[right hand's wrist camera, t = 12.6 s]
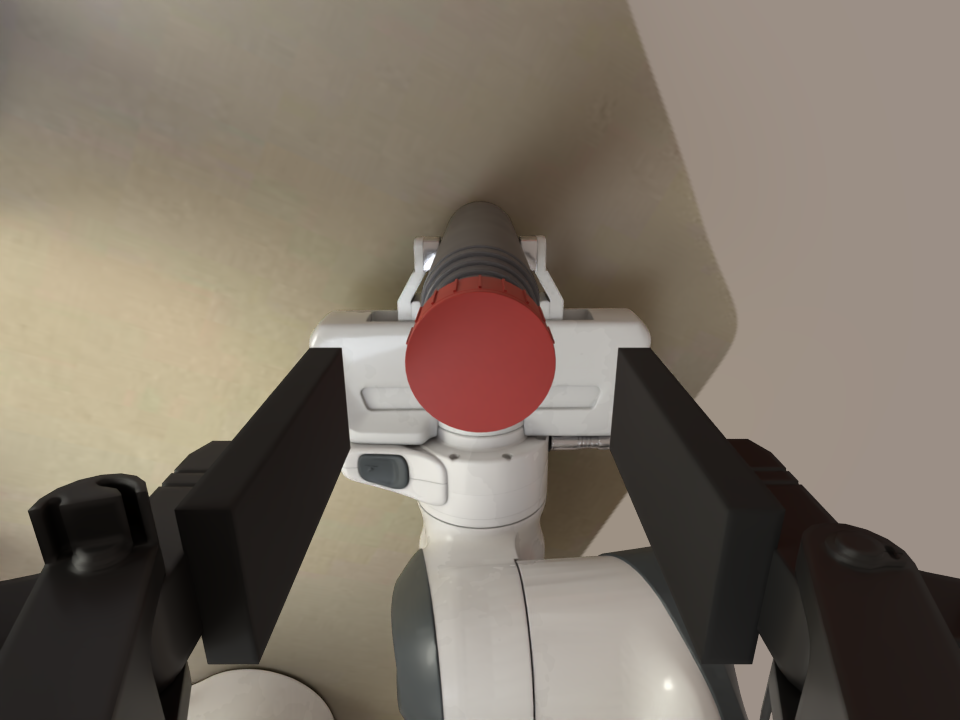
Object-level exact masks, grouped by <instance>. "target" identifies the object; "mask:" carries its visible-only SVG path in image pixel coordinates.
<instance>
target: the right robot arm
mask: <svg viewBox="0 0 960 720" xmlns="http://www.w3.org/2000/svg"><path fill="white" fill-rule="evenodd" d="M350 449H351V446H350V435H349V423H348V412H347V401H346V390H345V378H344V367H343V356H342V348H309V350H308V351H307V352H306V353H305V354H304V355H303V357H302V358H301V359H300V360H299V361H298V363H297V364H296V365H295V366H294V367H293V369H292V370H291V371H290V372H289V373H288V375H287V376H286V377H285V378H284V379H283V381H282V382H281V383H280V384H279V385H278V386H277V388H276V389H275V390H274V391H273V392H272V394H271V395H270V396H269V397H268V398H267V400H266V401H265V402H264V403H263V404H262V406H261V407H260V408H259V409H258V410H257V412H256V413H255V414H254V415H253V416H252V417H251V419H250V420H249V421H248V422H247V423H246V425H245V426H244V427H243V428H242V429H241V431H240V432H239V433H238V434H237V435H236V437H235V438H234V439H233V440H232V441H212V442H210V443H208V444H206V445H205V446H203V447H201V448H200V449H198V450H196V451H194V452H193V453H191V454H189V455H188V456H187V457H186V458H185V459H184V461H183V462H182V463H181V464H180V465H179V466H178V467H177V468H176V469H175V470H174V471H175V472H174V473H171V474H170V475H169V476H168V478H167V479H166V480H165V481H164V482H163V483H162V487H158V488H157V489H156V490H155V491H154V492H153V494H152V495H151V496H150V497H149V495H148V491H147V487H146V483H145V481H143V480H142V479H140V478H139V477H137V476H134V475H128V474H107V475H99V476H94V477H90V478H86V479H81V480H78V481H75V482H73V483H70V484H68V485H65V486H63V487H60V488H57V489H56V490H54V491H52V492H51V493H49V494H47V495H46V496H44V497H42V498H41V499H39V500H38V501H37V502H36V503H35V504H34V505H33V506H32V507H31V508H30V509H29V510H28V513H29V516H30V519H31V522H32V525H33V528H34V531H35V534H36V538H37V541H38V544H39V547H40V550H41V553H42V556H43V559H44V562H45V566H44V568H43V570H42V571H41V573H39V574H35V575H30V576H25V577H20V578H15V579H10V580H5V581H0V720H187V717H188V709H189V702H190V694H191V687H192V684H191V676H190V671H189V666H188V662H187V660H188V658H189V656H190V654H191V653H192V651H193V649H194V647H195V646H196V644H197V642H198V640H199V639H200V637H201V635H202V640H203V644H204V649H205V654H206V658H207V663H208V664H259V662H260V660H261V657H262V655H263V653H264V650H265V648H266V646H267V643H268V641H269V638H270V636H271V634H272V631H273V629H274V627H275V624H276V622H277V620H278V617H279V615H280V613H281V610H282V608H283V606H284V603H285V601H286V599H287V596H288V594H289V592H290V589H291V587H292V585H293V582H294V580H295V578H296V575H297V573H298V570H299V568H300V566H301V563H302V561H303V559H304V556H305V554H306V552H307V549H308V547H309V545H310V542H311V540H312V538H313V535H314V533H315V531H316V528H317V526H318V524H319V521H320V519H321V517H322V514H323V512H324V510H325V507H326V505H327V503H328V500H329V498H330V495H331V493H332V491H333V488H334V486H335V484H336V481H337V479H338V477H339V474H340V472H341V470H342V467H343V465H344V463H345V460H346V458H347V456H348V453H349V451H350ZM609 449H610V451H611V453H612V456H613V458H614V460H615V463H616V465H617V467H618V470H619V472H620V474H621V477H622V479H623V481H624V484H625V486H626V488H627V491H628V493H629V495H630V498H631V500H632V503H633V505H634V507H635V510H636V512H637V514H638V517H639V519H640V521H641V524H642V526H643V528H644V531H645V533H646V535H647V538H648V540H649V542H650V545H651V547H652V549H653V552H654V554H655V556H656V559H657V561H658V563H659V566H660V568H661V570H662V573H663V575H664V578H665V580H666V582H667V585H668V587H669V589H670V592H671V594H672V596H673V599H674V601H675V603H676V606H677V608H678V610H679V613H680V615H681V617H682V620H683V622H684V624H685V627H686V629H687V631H688V634H689V636H690V638H691V641H692V643H693V646H694V648H695V650H696V653H697V655H698V657H699V660H700V662H701V664H752V663H753V658H754V654H755V649H756V644H757V640H758V635H759V634H760V636H761V637H762V639H763V641H764V643H765V644H766V646H767V648H768V649H769V651H770V653H771V655H772V657H773V662H772V666H771V671H770V675H769V679H768V684H767V688H766V692H765V696H764V701H763V705H762V709H761V715H760V720H769V718H770V714H771V712H772V715H773V720H960V579H959V578H953V577H949V576H944V575H939V574H933V573H929V572H924V571H920V570H918V568H917V566H916V565H915V563H914V562H913V561H912V559H911V558H910V557H909V556H908V555H907V553H906V552H905V551H904V550H902V549H901V548H900V547H898V546H897V545H895V544H894V543H892V542H891V541H890V540H888V539H886V538H884V537H882V536H880V535H878V534H875V533H873V532H871V531H869V530H866V529H863V528H859V527H855V526H851V525H848V524H840V523H838V522H837V521H836V520H835V519H834V518H833V517H832V516H831V515H830V514H829V513H828V512H827V511H826V510H825V509H824V508H823V507H822V506H821V505H820V504H819V502H818V501H817V500H816V499H815V498H814V497H813V496H812V495H811V494H810V493H809V492H808V491H807V490H806V489H805V488H804V487H803V486H802V485H799V484H798V480H797V479H796V478H795V477H794V476H793V475H792V474H791V473H790V472H789V471H786V468H785V467H784V466H783V464H782V463H781V462H780V461H779V460H778V459H777V458H776V457H775V456H774V455H773V454H772V453H771V452H770V451H768V450H766V449H764V448H763V447H761V446H759V445H757V444H756V443H754V442H752V441H750V440H749V439H726V438H725V437H724V435H723V434H722V433H721V432H720V431H719V429H718V428H717V427H716V426H715V425H714V423H713V422H712V421H711V420H710V419H709V417H708V416H707V415H706V414H705V413H704V412H703V410H702V409H701V408H700V407H699V406H698V404H697V403H696V402H695V401H694V400H693V398H692V397H691V396H690V395H689V394H688V392H687V391H686V390H685V389H684V388H683V386H682V385H681V384H680V383H679V382H678V381H677V379H676V378H675V377H674V376H673V375H672V373H671V372H670V371H669V370H668V369H667V367H666V366H665V365H664V364H663V363H662V361H661V360H660V359H659V358H658V357H657V355H656V354H655V353H654V352H653V351H652V350H651V348H618V356H617V367H616V378H615V389H614V401H613V412H612V423H611V435H610V446H609Z"/></svg>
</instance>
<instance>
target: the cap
mask: <svg viewBox="0 0 960 720" xmlns="http://www.w3.org/2000/svg"><path fill="white" fill-rule="evenodd" d="M553 344H555V341H554V339H553V336H552V333H551V331H550V328H549V326H548V327H547V325H546V320H545V317H544V314H543V312H542V309H541V307H540V306H537V305H536V303H535V302H534V301H533V299H532V298H531V297H530V296H529V295H528V294H527V293H526V290H524V289H523V290H521V289H520V288H519V287H517V286H515V285H513V284H511V283H509V282H507V281H505V279H503V278H502V280H501V279H497V278H493V277H481V275H479V277H469V278H464V279H460V280H458V279H455V281H454V282H452V283H450V284H447V285H446V286H444V287H442V288H441V289H439V290H438V291H437V290H435V291H434V294H433V295H432V296H431V297H430V298H429V299H428V300H427V302H426V303H425V304H424V306H423V307H420V308H419V311H418V314H417V316H416V319H415V324H414V327H412V328H411V330H410V333H409V336H408V338H407V341H406V345H407V348H406V354H405V371H406V376H407V380H408V383H409V386H410V389H411V391H412V392H413V394H414V396H415V398H416V399H417V401H418V402H419V404H420V405H421V406H422V407H423V408H424V409H425V410H426V411H427V412H428V413H429V414H430V415H431V416H433V417H434V418H435V419H437V420H438V421H440V422H442V423H444V424H446V425H448V426H450V427H453V428H455V429H458V430H463V431H467V432H476V433H482V432H493V431H498V430H502V429H506V428H508V427H511V426H513V425H515V424H517V423H519V422H521V421H523V420H524V419H525V418H527V417H528V416H530V415H531V414H532V413H533V412H534V411H535V410H536V409H537V408H538V407H539V406H540V405H541V403H542V402H543V401H544V399H545V398H546V396H547V394H548V392H549V390H550V388H551V386H552V383H553V379H554V375H555V369H556V355H555V348H554V345H553Z"/></svg>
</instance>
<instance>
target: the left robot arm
mask: <svg viewBox="0 0 960 720" xmlns="http://www.w3.org/2000/svg"><path fill="white" fill-rule="evenodd" d="M519 242H520V244H521V247H522V249H523V252H524V254H525V257H526V259H527V261H528V264H529V266H530V269H531V271H534V272H535V274H536V275H537V277H538V279H539V281H540V283H541V284H542V286H543V288H544V290H545V292H546V293H545V292H539V296H540V307H541V309H542V312H543V314H544V317H545V320H546V325H547V327H548V326H549V328H550V331H551V333H552V336H553V339H554V341H555V344H553V345H554V348H555V355H556V369H555V375H554V379H553V383H552V386H551V388H550V390H549V392H548V394H547V396H546V398H545V399H544V401H543V402H542V403H541V405H540V406H539V407H538V408H537V409H536V410H535V411H534V412H533V413H532V414H531V415H530V416H528V417H527V418H525V419H524V420H523V421H521V422H519V423H517V424H515V425H513V426H511V427H508V428H506V429H502V430H498V431H493V432H482V433H476V432H467V431H463V430H458V429H455V428H453V427H450V426H448V425H446V424H444V423H442V422H440V421H438V420H437V419H435V418H434V417H433V416H431V415H430V414H429V413H428V412H427V411H426V410H425V409H424V408H423V407H422V406H421V405H420V404H419V402H418V401H417V399H416V398H415V396H414V394H413V392H412V391H411V389H410V386H409V383H408V380H407V376H406V371H405V354H406V348H407V345H406V341H407V338H408V336H409V333H410V330H411V328H412V327H414V324H415V319H416V316H417V314H418V311H419V308H420V307H421V293H416V294H415V292H416V290H417V288H418V286H419V285H420V283H421V281H422V279H423V277H424V275H425V273H426V272H429V270H430V267H431V265H432V262H433V260H434V257H435V255H436V252H437V250H438V247H439V245H440V243H441V237H424V236H421V237H415V239H414V264H415V269H414V270H413V272H412V274H411V276H410V278H409V280H408V282H407V284H406V286H405V288H404V290H403V291H402V293H401V295H400V297H399V299H398V301H397V305H398V310H334V311H331V312H329V313H328V314H327V315H326V316H325V317H324V318H323V319H322V320H321V321H320V322H319V323H318V324H317V326H316V327H315V328H314V330H313V331H312V333H311V336H310V340H309V348H342V356H343V367H344V378H345V390H346V401H347V412H348V423H349V435H350V446H351V449H350V451H349V453H348V456H347V458H346V460H345V463H344V465H343V467H342V470H341V471H342V473H343V475H344V476H345V477H347V478H348V479H350V480H353V481H356V482H360V483H364V484H367V485H371V486H375V487H379V488H382V489H386V490H389V491H393V492H396V493H399V494H402V495H405V496H408V497H411V498H413V499H416V500H417V502H418V505H419V508H420V511H421V513H422V516H423V521H424V524H423V529H422V532H421V536H420V542H419V550H418V551H417V552H416V553H415V554H414V556H413V557H412V558H411V559H410V561H409V562H408V564H407V565H406V567H405V568H404V570H403V571H402V573H401V574H400V576H399V578H398V579H397V581H396V584H395V587H394V591H393V597H392V608H391V620H392V634H393V643H394V651H395V659H396V666H397V698H398V706H399V711H400V713H401V715H402V716H403V717H404V719H405V720H748V717H747V714H746V711H745V708H744V705H743V702H742V698H741V694H740V690H739V686H738V681H737V677H736V673H735V668H734V664H701V662H700V660H699V657H698V655H697V653H696V650H695V648H694V646H693V643H692V641H691V638H690V636H689V634H688V631H687V629H686V627H685V624H684V622H683V620H682V617H681V615H680V613H679V610H678V608H677V606H676V603H675V601H674V599H673V596H672V594H671V592H670V589H669V587H668V585H667V582H666V580H665V578H664V575H663V573H662V570H661V568H660V566H659V563H658V561H657V559H656V556H655V554H654V552H653V549H652V547H645V548H638V549H631V550H624V551H618V552H611V553H604V554H601V555H599V556H590V557H572V558H554V559H544V556H545V542H544V536H543V532H542V529H541V526H540V517H541V514H542V512H543V509H544V507H545V503H546V498H547V477H548V452H549V451H550V450H577V449H585V448H596V449H598V450H610V449H609V446H610V435H611V423H612V412H613V401H614V389H615V378H616V367H617V356H618V348H650V346H651V335H650V332H649V330H648V328H647V327H646V325H645V324H644V323H643V321H642V320H641V319H640V318H639V317H638V316H637V315H636V314H635V313H634V312H633V311H631V310H630V309H627V308H563V306H564V300H563V298H562V296H561V294H560V292H559V290H558V288H557V287H556V285H555V283H554V281H553V279H552V277H551V276H550V274H549V272H548V270H547V268H546V238H545V236H519ZM187 720H334V718H333V716H332V713H331V711H330V709H329V708H328V706H327V705H326V703H325V702H324V701H323V700H322V699H321V698H320V696H318V695H317V694H316V693H315V692H314V691H313V690H312V689H310V688H309V687H307V686H306V685H304V684H302V683H301V682H299V681H297V680H295V679H293V678H290V677H288V676H285V675H282V674H279V673H275V672H271V671H265V670H257V669H239V670H231V671H226V672H222V673H219V674H216V675H213V676H211V677H209V678H207V679H205V680H203V681H201V682H199V683H197V684H194V685H192V687H191V694H190V702H189V709H188V717H187Z"/></svg>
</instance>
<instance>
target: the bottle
mask: <svg viewBox="0 0 960 720" xmlns="http://www.w3.org/2000/svg"><path fill="white" fill-rule="evenodd" d="M479 275H481V277H493V278H497V279H501V280H502V278H503V279H505V281H507V282H509V283H511V284H513V285H515V286H517V287H519V288H520V289H521V290H523V289H524V290H526V293H527V294H528V295H529V296H530V297H531V298H532V299H533V301H534V302H535V303H536V305H537V306H540V296H539V290H538V286H537V283H536V281H535V278H534V276H533V274H532V271H531V269H530V266H529V264H528V261H527V259H526V257H525V254H524V252H523V249H522V247H521V244H520V242H519V239H518V237H517V235H516V232H515V230H514V227H513V225H512V222H511V220H510V218H509V217H508V215H507V214H506V213H505V212H504V211H503V210H502V209H501V208H499V207H498V206H496V205H494V204H491V203H488V202H472V203H469V204H466V205H464V206H463V207H461V208H460V209H458V210H457V211H456V212H455V213H454V214H453V216H452V217H451V219H450V221H449V223H448V225H447V228H446V230H445V233H444V235H443V238H442V240H441V243H440V245H439V247H438V250H437V252H436V255H435V257H434V260H433V262H432V265H431V267H430V270H429V272H428V275H427V277H426V280H425V282H424V285H423V288H422V293H421V307H423V306H424V304H425V303H426V302H427V300H428V299H429V298H430V297H431V296H432V295H433V294H434V291H435V290H437V291H438V290H439V289H441V288H442V287H444V286H446V285H447V284H450V283H452V282H454V281H455V279H458V280H460V279H464V278H469V277H479Z"/></svg>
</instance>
